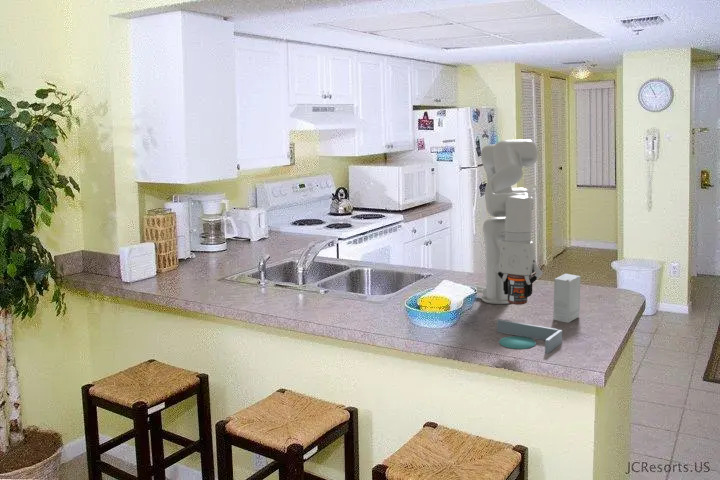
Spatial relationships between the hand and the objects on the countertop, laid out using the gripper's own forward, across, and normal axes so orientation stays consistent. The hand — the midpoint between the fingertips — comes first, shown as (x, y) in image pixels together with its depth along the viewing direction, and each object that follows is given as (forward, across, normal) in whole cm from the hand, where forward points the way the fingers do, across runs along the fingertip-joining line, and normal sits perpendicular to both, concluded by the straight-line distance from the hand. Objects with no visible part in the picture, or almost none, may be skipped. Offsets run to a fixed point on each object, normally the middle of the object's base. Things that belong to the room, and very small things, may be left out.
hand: (517, 294), depth 210 cm
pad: (+15, 0, 0) cm, 15 cm away
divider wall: (+15, +1, +2) cm, 16 cm away
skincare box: (+16, +4, +31) cm, 35 cm away
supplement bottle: (+3, 0, 0) cm, 3 cm away
